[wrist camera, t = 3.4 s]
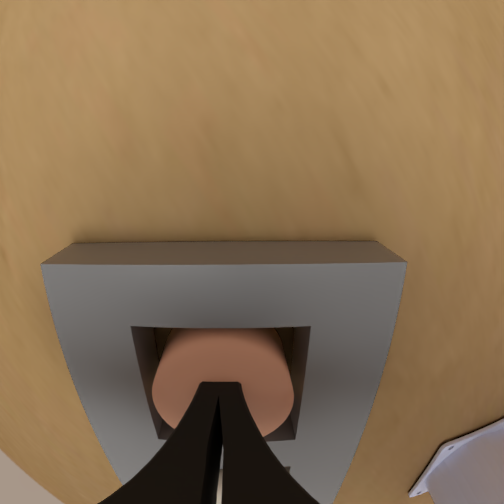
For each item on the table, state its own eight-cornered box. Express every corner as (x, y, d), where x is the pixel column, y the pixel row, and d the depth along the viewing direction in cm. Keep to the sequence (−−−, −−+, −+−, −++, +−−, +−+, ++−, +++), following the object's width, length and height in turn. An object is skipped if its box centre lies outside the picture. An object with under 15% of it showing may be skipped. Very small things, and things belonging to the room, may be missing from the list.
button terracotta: (286, 304, 12) (300, 344, 10) (280, 397, 14) (288, 442, 11) (158, 304, 12) (140, 343, 9) (173, 397, 13) (164, 441, 11)
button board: (377, 241, 12) (407, 261, 9) (304, 527, 19) (308, 548, 17) (72, 243, 11) (40, 264, 9) (169, 528, 19) (166, 549, 16)
